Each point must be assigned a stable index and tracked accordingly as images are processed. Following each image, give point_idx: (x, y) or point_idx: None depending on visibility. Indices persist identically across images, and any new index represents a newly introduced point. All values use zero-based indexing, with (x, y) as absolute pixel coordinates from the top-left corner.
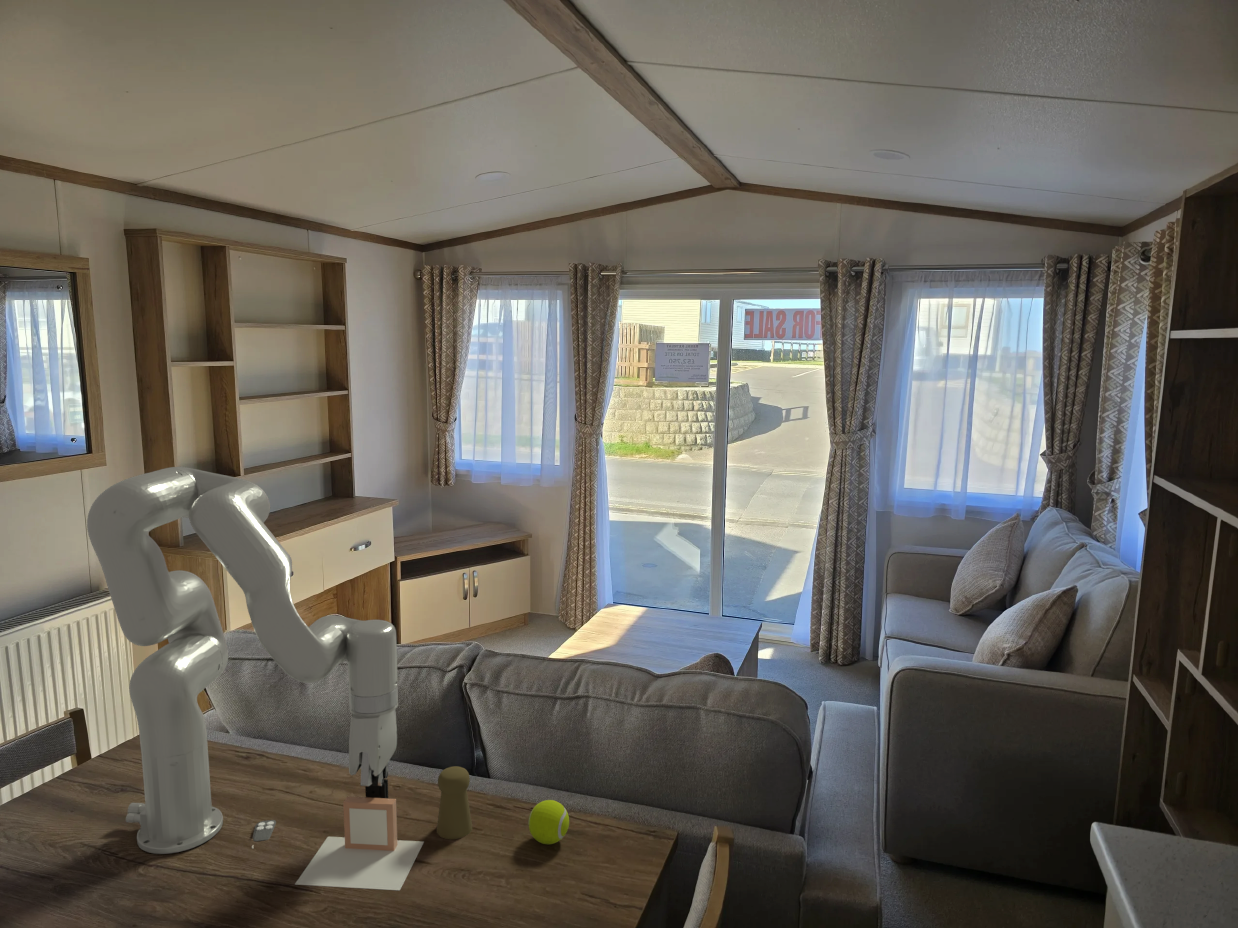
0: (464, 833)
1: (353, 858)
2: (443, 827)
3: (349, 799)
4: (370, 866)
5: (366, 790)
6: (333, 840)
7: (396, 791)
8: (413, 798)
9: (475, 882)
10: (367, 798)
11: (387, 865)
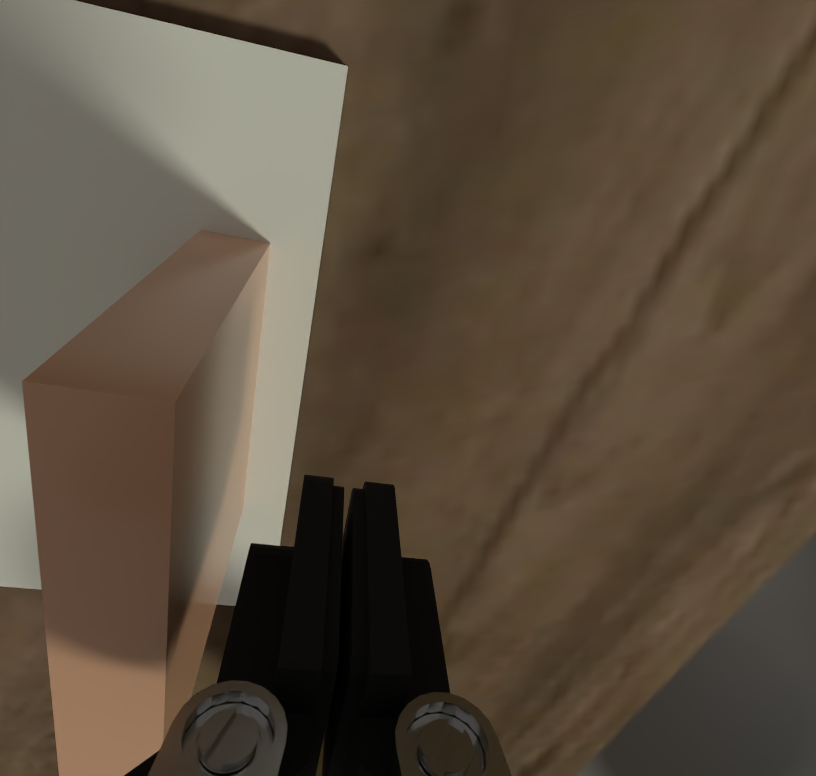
0: None
1: (92, 305)
2: None
3: (104, 441)
4: None
5: (289, 593)
6: (292, 123)
7: (802, 410)
8: (695, 499)
9: (27, 767)
10: (145, 614)
11: None
